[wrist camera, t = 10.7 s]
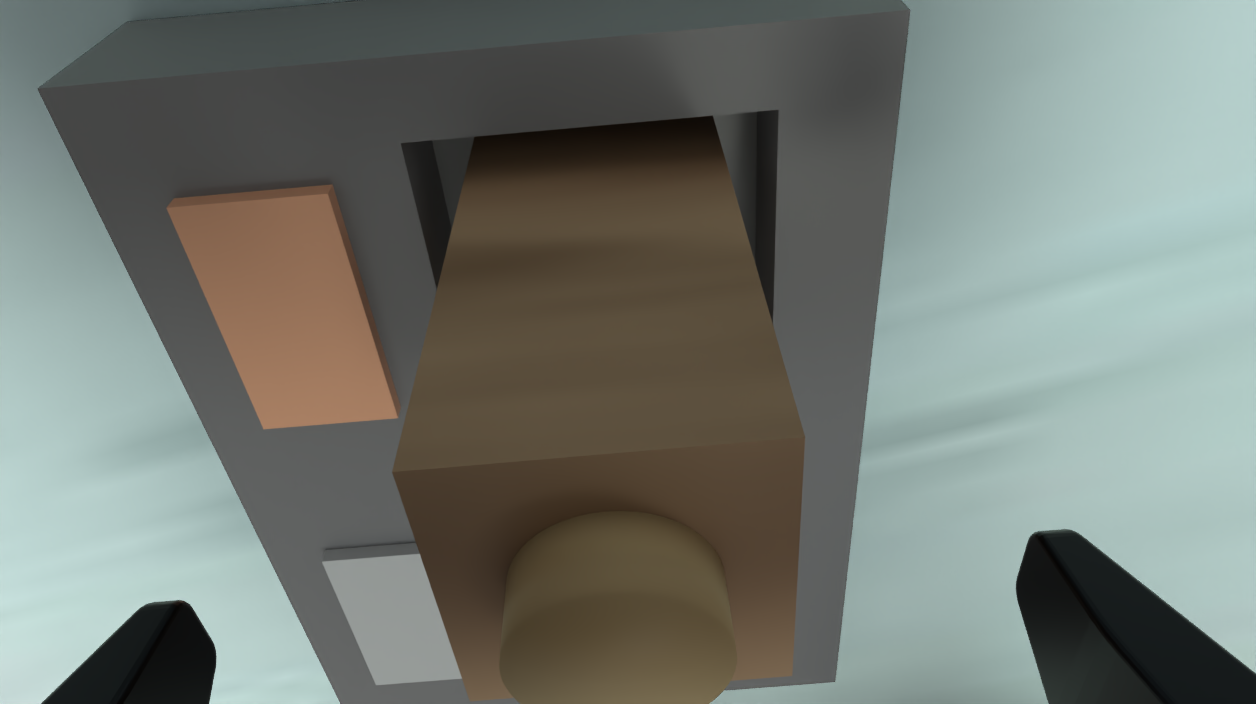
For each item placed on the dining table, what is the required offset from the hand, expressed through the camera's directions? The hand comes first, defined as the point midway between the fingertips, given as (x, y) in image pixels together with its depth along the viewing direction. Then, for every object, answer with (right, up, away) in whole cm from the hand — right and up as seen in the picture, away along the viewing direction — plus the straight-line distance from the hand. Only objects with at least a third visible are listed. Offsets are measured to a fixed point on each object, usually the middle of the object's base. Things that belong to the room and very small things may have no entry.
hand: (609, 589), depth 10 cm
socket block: (-1, +2, +10) cm, 10 cm away
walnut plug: (0, +5, +7) cm, 8 cm away
